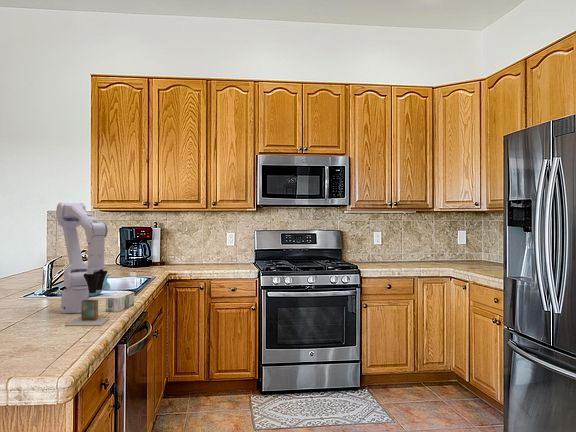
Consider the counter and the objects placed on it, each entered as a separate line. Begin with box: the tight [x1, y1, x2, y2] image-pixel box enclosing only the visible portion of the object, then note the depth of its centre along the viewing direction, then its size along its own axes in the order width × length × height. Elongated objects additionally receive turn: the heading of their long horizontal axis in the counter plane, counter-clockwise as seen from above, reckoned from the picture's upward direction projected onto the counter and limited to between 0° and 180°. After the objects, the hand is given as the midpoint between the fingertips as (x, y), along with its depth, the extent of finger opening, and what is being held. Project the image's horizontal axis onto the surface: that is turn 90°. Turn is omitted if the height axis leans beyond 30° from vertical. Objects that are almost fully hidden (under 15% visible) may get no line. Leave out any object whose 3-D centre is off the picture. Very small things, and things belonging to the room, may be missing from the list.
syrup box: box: [105, 291, 135, 313], centre depth 194 cm, size 6×6×14 cm
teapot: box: [89, 273, 111, 298], centre depth 226 cm, size 15×15×10 cm
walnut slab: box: [80, 299, 99, 321], centre depth 170 cm, size 5×2×7 cm, turn 96°
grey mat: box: [64, 318, 110, 327], centre depth 167 cm, size 12×10×1 cm
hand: (95, 291), depth 176 cm, fingers open, 7 cm apart
